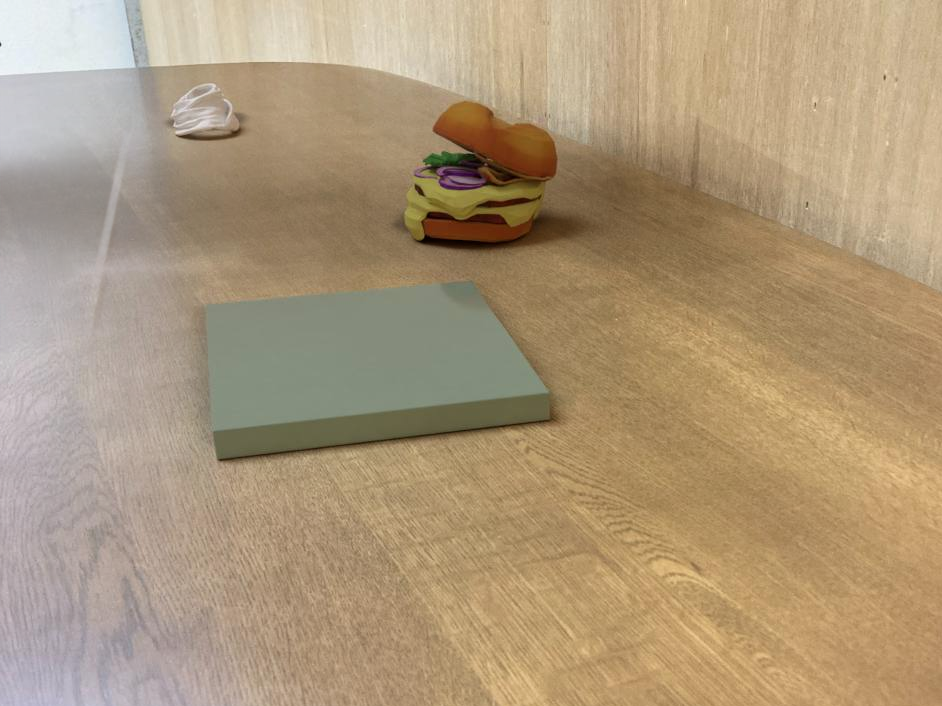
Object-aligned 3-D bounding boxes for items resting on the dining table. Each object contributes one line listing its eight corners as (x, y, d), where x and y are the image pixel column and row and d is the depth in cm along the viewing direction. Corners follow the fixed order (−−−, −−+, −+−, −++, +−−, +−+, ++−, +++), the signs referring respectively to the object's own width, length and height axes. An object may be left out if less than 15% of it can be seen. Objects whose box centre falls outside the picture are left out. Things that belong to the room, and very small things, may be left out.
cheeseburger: (378, 222, 87) (398, 83, 83) (501, 237, 92) (526, 108, 88) (429, 254, 79) (454, 103, 75) (561, 269, 84) (591, 129, 80)
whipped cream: (240, 147, 115) (238, 97, 112) (170, 144, 113) (166, 93, 110) (239, 126, 121) (237, 78, 118) (173, 123, 119) (169, 74, 117)
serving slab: (208, 328, 68) (204, 304, 67) (472, 303, 71) (471, 279, 70) (216, 460, 53) (211, 430, 52) (550, 420, 56) (550, 392, 55)
